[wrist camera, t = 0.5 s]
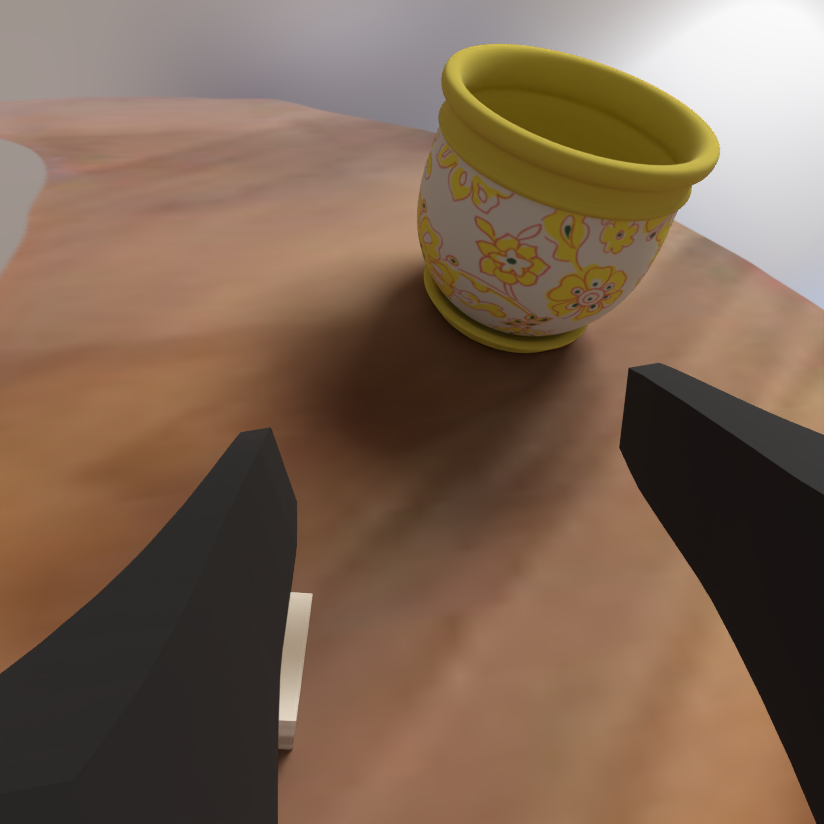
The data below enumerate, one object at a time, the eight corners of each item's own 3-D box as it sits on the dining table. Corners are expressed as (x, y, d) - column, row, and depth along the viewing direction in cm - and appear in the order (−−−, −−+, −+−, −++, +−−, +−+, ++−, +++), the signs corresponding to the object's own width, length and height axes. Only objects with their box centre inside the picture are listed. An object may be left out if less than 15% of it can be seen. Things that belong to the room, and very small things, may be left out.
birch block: (292, 749, 23) (296, 720, 19) (183, 745, 23) (160, 714, 18) (306, 641, 26) (312, 594, 22) (210, 634, 26) (195, 584, 21)
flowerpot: (472, 406, 38) (566, 185, 26) (362, 255, 47) (392, 37, 35) (645, 350, 46) (780, 161, 34) (522, 230, 55) (594, 45, 42)
